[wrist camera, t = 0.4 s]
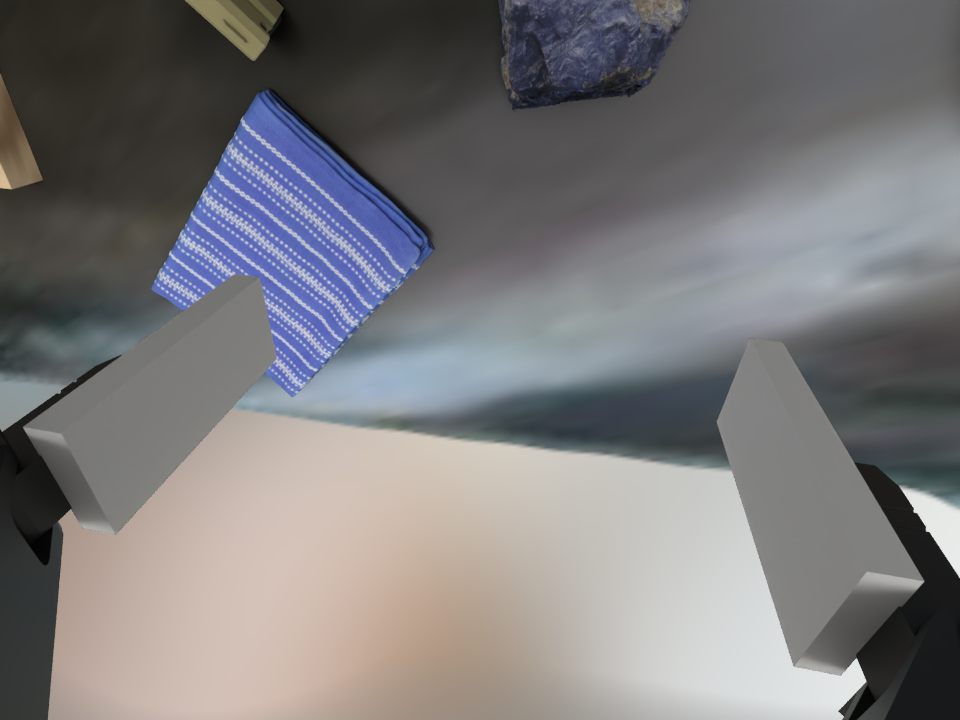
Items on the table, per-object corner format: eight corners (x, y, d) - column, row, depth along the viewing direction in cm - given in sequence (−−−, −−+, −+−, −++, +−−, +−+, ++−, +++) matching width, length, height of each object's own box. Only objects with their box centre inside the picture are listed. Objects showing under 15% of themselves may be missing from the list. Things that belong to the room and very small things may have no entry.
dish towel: (444, 238, 43) (436, 251, 40) (303, 390, 55) (290, 407, 52) (270, 77, 38) (249, 80, 36) (158, 281, 50) (137, 293, 48)
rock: (507, 148, 35) (511, 75, 25) (488, -12, 34) (484, -154, 24) (670, 126, 35) (743, 41, 24) (653, -37, 34) (720, -194, 24)
